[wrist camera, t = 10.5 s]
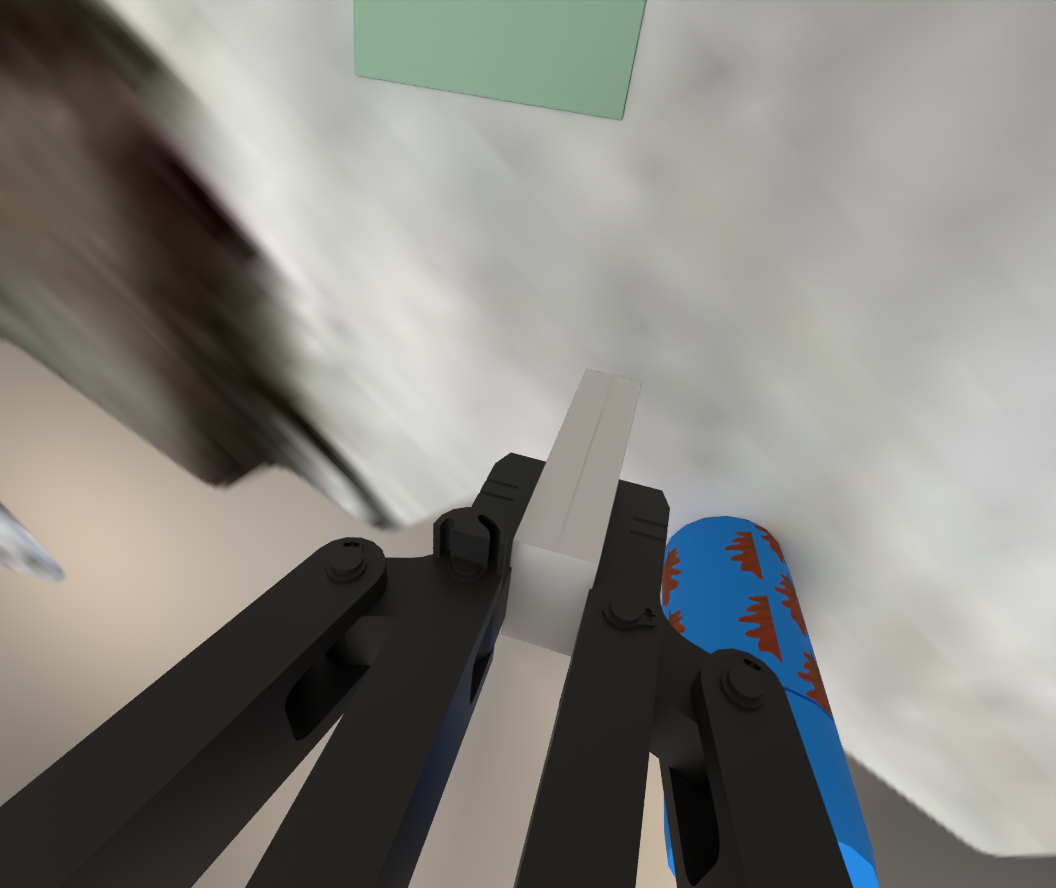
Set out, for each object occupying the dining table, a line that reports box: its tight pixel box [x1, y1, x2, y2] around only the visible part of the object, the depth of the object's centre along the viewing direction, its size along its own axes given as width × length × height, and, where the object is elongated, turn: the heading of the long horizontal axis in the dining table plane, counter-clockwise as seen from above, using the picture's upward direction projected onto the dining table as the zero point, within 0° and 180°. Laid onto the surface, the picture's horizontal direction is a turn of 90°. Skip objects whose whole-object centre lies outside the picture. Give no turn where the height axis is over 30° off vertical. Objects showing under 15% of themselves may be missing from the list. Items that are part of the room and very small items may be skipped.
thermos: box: [662, 516, 879, 888], centre depth 40 cm, size 11×11×25 cm
